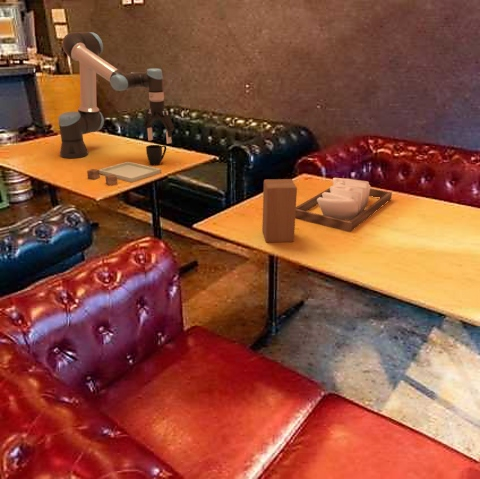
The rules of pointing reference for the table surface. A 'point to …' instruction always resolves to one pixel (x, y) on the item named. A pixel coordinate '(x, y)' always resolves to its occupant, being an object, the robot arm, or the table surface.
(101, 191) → the table surface
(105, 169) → the tray
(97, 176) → the walnut cube
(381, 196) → the book corral
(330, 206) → the white wavy slab sculpture
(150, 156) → the mug
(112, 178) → the walnut cube
